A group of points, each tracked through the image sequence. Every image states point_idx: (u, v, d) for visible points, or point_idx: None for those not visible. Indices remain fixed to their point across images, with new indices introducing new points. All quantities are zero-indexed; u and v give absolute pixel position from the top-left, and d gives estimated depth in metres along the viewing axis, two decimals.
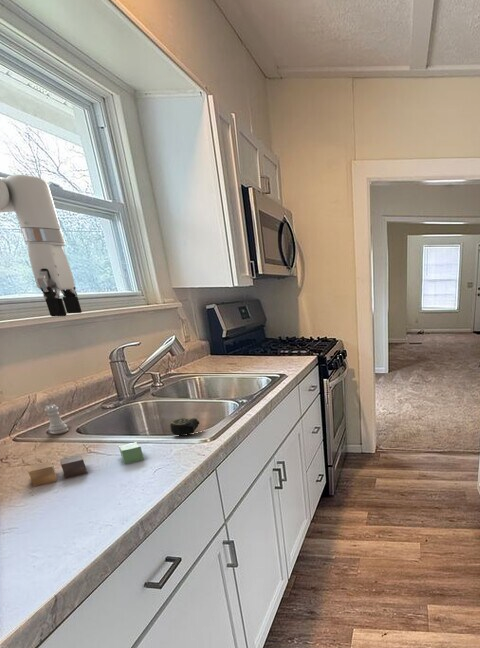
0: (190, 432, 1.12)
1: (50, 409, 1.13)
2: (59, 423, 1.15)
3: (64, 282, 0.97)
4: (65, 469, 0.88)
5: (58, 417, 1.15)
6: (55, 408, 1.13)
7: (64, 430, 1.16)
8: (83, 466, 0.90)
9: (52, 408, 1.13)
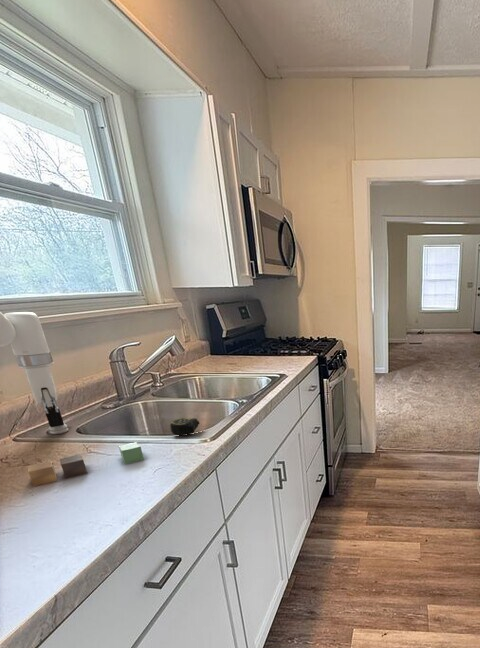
0: (190, 432, 1.12)
1: None
2: None
3: (56, 394, 1.12)
4: (65, 469, 0.88)
5: None
6: None
7: (64, 430, 1.16)
8: (83, 466, 0.90)
9: None
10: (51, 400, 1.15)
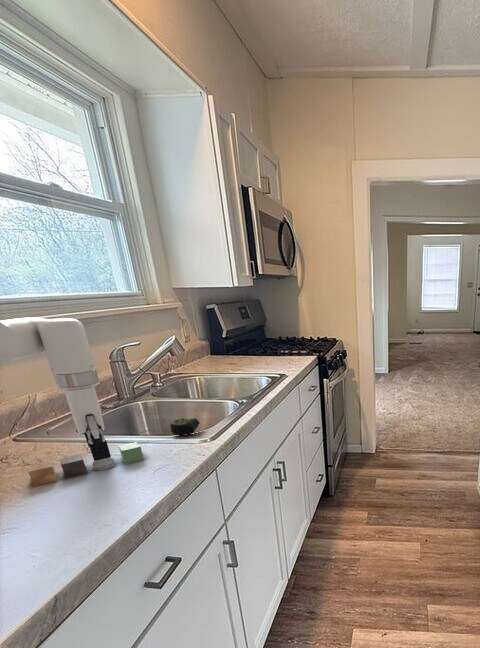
0: (190, 432, 1.12)
1: None
2: (106, 458, 0.93)
3: None
4: (65, 469, 0.88)
5: None
6: None
7: (111, 466, 0.94)
8: (83, 466, 0.90)
9: None
10: None
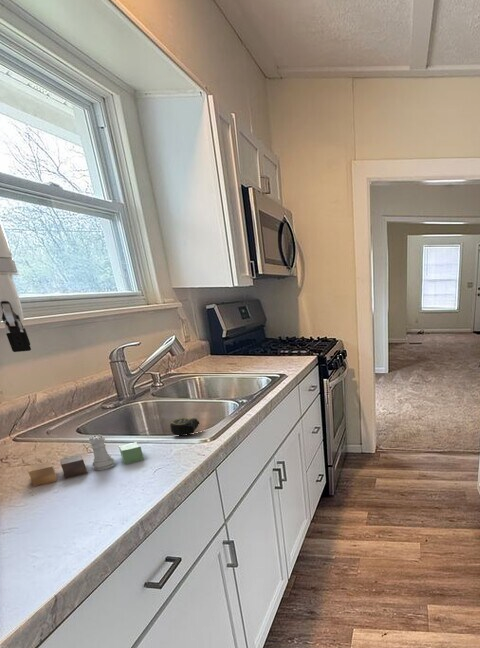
0: (190, 432, 1.12)
1: (95, 441, 0.90)
2: (106, 458, 0.93)
3: (22, 314, 0.90)
4: (65, 469, 0.88)
5: (104, 450, 0.93)
6: (101, 439, 0.91)
7: (111, 466, 0.94)
8: (83, 466, 0.90)
9: (98, 440, 0.91)
10: None
